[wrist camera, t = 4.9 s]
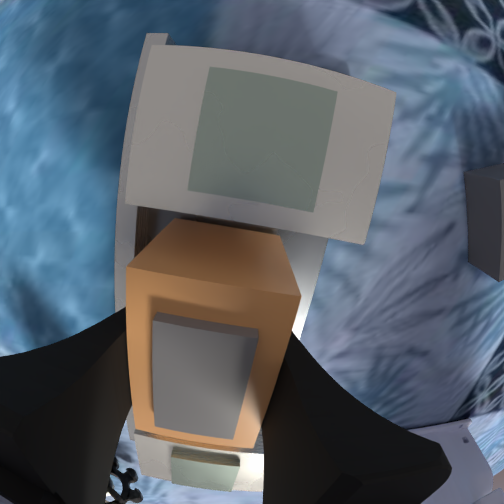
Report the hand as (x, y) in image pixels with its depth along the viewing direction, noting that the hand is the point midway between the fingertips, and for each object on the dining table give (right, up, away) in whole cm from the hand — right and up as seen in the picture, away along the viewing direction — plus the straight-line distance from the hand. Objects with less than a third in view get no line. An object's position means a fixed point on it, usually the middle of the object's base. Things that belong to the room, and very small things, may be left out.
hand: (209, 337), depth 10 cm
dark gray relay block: (+15, +5, +3) cm, 16 cm away
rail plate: (0, +1, +4) cm, 4 cm away
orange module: (0, +1, +2) cm, 3 cm away
